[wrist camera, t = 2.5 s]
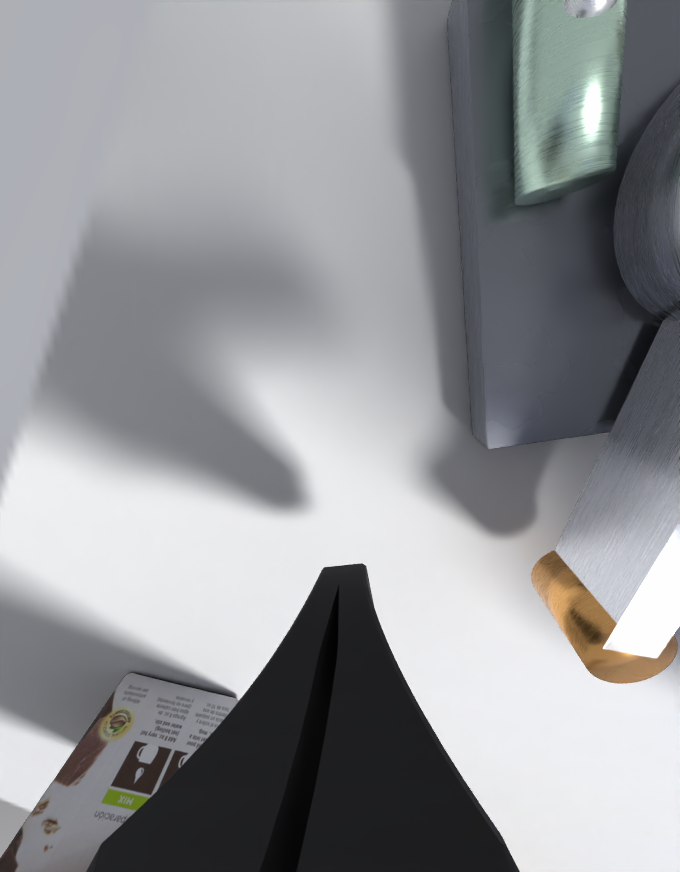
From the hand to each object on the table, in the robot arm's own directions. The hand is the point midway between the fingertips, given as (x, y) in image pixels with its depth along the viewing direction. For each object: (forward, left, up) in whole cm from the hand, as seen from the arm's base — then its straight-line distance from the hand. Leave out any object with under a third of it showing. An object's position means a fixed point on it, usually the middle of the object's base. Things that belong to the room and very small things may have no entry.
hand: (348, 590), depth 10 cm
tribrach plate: (+9, -11, -3) cm, 14 cm away
